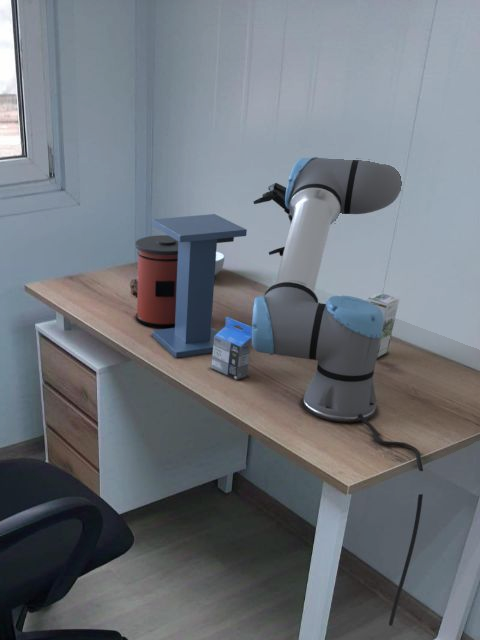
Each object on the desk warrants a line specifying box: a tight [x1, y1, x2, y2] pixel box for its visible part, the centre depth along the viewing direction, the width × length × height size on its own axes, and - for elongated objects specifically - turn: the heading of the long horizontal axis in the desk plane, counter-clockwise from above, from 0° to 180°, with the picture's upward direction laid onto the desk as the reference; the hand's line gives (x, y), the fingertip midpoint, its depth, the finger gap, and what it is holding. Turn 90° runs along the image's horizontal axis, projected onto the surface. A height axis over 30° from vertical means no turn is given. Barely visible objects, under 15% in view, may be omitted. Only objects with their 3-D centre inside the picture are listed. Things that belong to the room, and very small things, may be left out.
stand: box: [151, 213, 248, 359], centre depth 185 cm, size 17×17×30 cm
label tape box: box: [210, 316, 252, 380], centre depth 173 cm, size 9×4×12 cm, turn 37°
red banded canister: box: [135, 249, 178, 330], centre depth 202 cm, size 16×16×20 cm
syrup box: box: [366, 293, 400, 360], centre depth 183 cm, size 6×6×14 cm
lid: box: [135, 234, 235, 255], centre depth 198 cm, size 28×16×2 cm, turn 110°
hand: (265, 226), depth 193 cm, fingers open, 13 cm apart
